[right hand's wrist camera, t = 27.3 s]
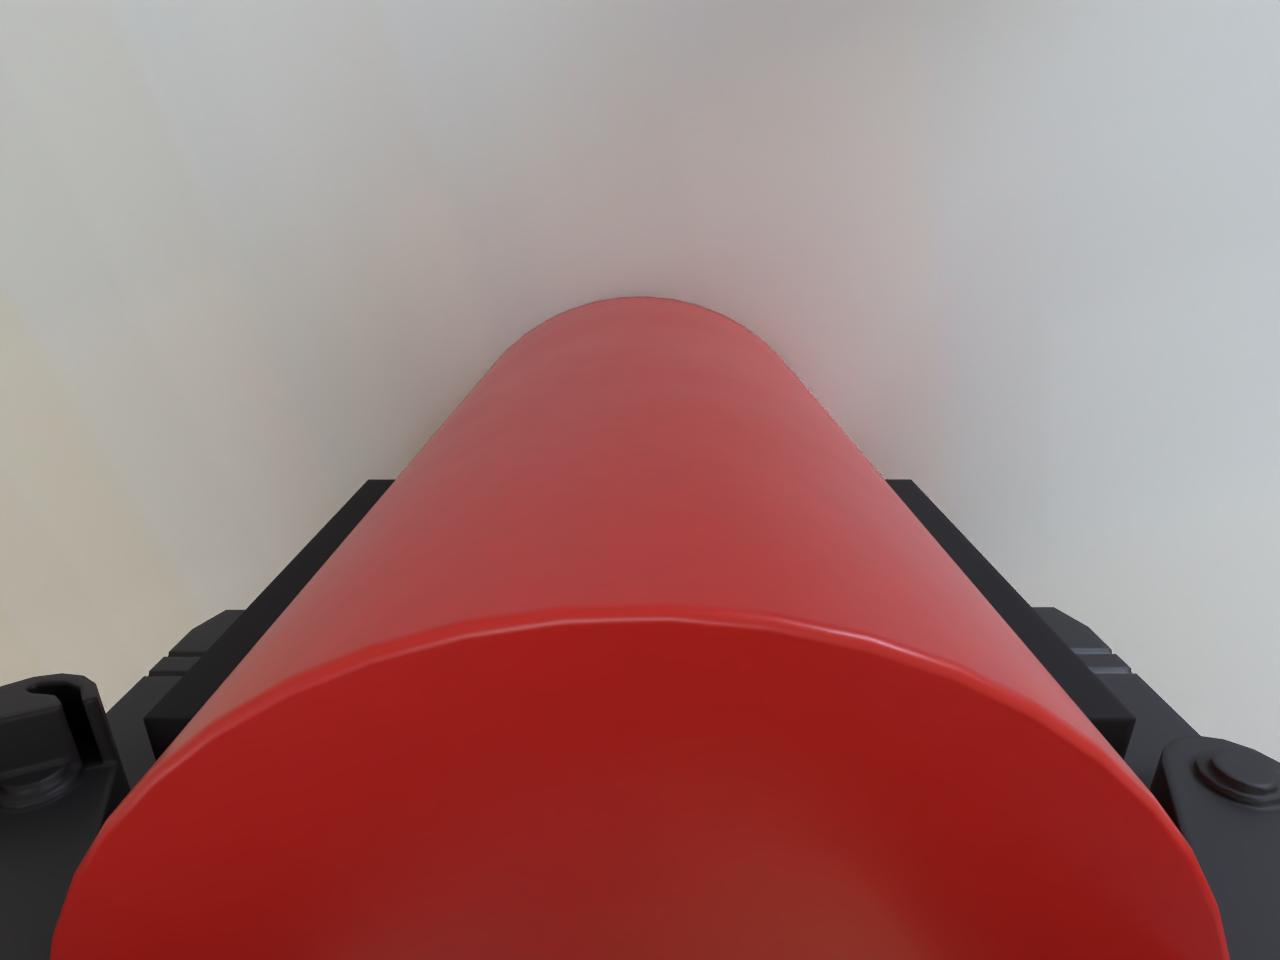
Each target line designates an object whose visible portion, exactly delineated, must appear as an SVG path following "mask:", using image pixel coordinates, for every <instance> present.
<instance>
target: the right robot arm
mask: <svg viewBox="0 0 1280 960" xmlns="http://www.w3.org/2000/svg"><path fill="white" fill-rule="evenodd" d="M394 481H395V480H368V481H367V482H366V483H365V484H364V485H363V486H362V487H361V488H360V489H359V490H358V491H357V492H356V493H355V494H354V496H353V497H352V498H351V499H350V500H349V501H348V502H347V503H346V504H345V505H344V506H343V507H342V508H341V509H340V510H339V511H338V513H337V514H336V515H335V516H334V517H333V518H332V519H331V520H330V521H329V522H328V523H327V524H326V525H325V526H324V527H323V528H322V529H321V531H320V532H319V533H318V534H317V535H316V536H315V537H314V538H313V539H312V540H311V541H310V542H309V543H308V544H307V545H306V546H305V547H304V549H303V550H302V551H301V552H300V553H299V554H298V555H297V556H296V557H295V558H294V559H293V560H292V561H291V562H290V563H289V564H288V565H287V567H286V568H285V569H284V570H283V571H282V572H281V573H280V574H279V575H278V576H277V577H276V578H275V579H274V580H273V581H272V582H271V583H270V585H269V586H268V587H267V588H266V589H265V590H264V591H263V592H262V593H261V594H260V595H259V596H258V597H257V598H256V599H255V600H254V602H253V603H252V604H251V605H250V606H249V607H248V608H247V609H246V610H225V611H223V612H222V613H220V614H218V615H216V616H215V617H213V618H211V619H209V620H208V621H206V622H204V623H202V624H201V625H199V626H197V627H195V628H194V629H192V630H191V631H190V632H189V633H188V634H187V635H186V636H185V637H184V638H183V639H182V640H181V641H180V642H179V643H178V644H177V645H176V646H175V647H174V648H173V649H172V650H171V651H170V652H169V656H168V657H163V658H162V659H161V660H160V661H159V662H158V663H157V664H156V665H155V666H154V667H153V668H152V669H151V670H150V671H149V676H144V677H143V678H142V679H141V680H140V681H139V682H138V683H137V684H136V685H135V686H134V687H133V688H132V689H131V690H130V691H129V692H128V693H127V694H126V695H124V696H123V697H122V698H121V699H120V700H119V701H118V702H117V703H116V704H115V705H114V706H113V707H112V708H111V709H110V710H109V711H108V712H107V713H105V710H104V707H103V704H102V701H101V698H100V695H99V692H98V689H97V686H96V684H95V683H94V682H92V681H91V680H89V679H88V678H86V677H85V676H81V675H72V674H63V673H61V674H54V675H46V676H38V677H32V678H29V679H25V680H22V681H18V682H15V683H11V684H8V685H4V686H1V687H0V960H50V954H51V945H52V937H53V934H54V931H55V927H56V925H57V922H58V919H59V916H60V913H61V910H62V907H63V904H64V902H65V899H66V896H67V893H68V890H69V887H70V884H71V881H72V879H73V876H74V873H75V871H76V870H77V868H78V866H79V865H80V863H81V861H82V860H83V858H84V856H85V855H86V853H87V851H88V850H89V848H90V846H91V845H92V843H93V841H94V840H95V838H96V836H97V834H98V833H99V831H100V829H101V828H102V826H103V824H104V823H105V821H106V819H107V818H108V817H109V816H110V815H111V814H112V812H113V811H114V810H115V809H116V808H117V806H118V805H119V804H120V803H121V802H122V801H123V799H124V798H125V797H126V796H127V795H128V794H129V792H130V791H131V790H132V789H133V788H134V787H135V785H136V784H137V783H138V782H139V781H140V779H141V778H142V777H143V776H144V775H145V774H146V772H147V771H148V770H149V769H150V768H151V767H152V765H153V764H154V763H155V762H156V761H157V760H158V758H159V757H160V756H161V755H162V754H163V752H164V751H165V750H166V749H167V748H168V747H169V745H170V744H171V743H172V742H173V741H174V740H175V738H176V737H177V736H178V735H179V734H180V733H181V731H182V730H183V729H184V728H185V727H186V725H187V724H188V723H189V722H190V721H191V720H192V718H193V717H194V716H195V715H196V714H197V713H198V711H199V710H200V709H201V708H202V707H203V706H204V704H205V703H206V702H207V701H208V700H209V698H210V697H211V696H212V695H213V694H214V693H215V691H216V690H217V689H218V688H219V687H220V686H221V684H222V683H223V682H224V681H225V680H226V679H227V677H228V676H229V675H230V674H231V673H232V671H233V670H234V669H235V668H236V667H237V666H238V664H239V663H240V662H241V661H242V660H243V659H244V657H245V656H246V655H247V654H248V653H249V652H250V650H251V649H252V648H253V647H254V646H255V644H256V643H257V642H258V641H259V640H260V639H261V637H262V636H263V635H264V634H265V633H266V632H267V630H268V629H269V628H270V627H271V626H272V625H273V623H274V622H275V621H276V620H277V619H278V617H279V616H280V615H281V614H282V613H283V612H284V610H285V609H286V608H287V607H288V606H289V605H290V603H291V602H292V601H293V600H294V599H295V598H296V596H297V595H298V594H299V593H300V592H301V590H302V589H303V588H304V587H305V586H306V585H307V583H308V582H309V581H310V580H311V579H312V578H313V576H314V575H315V574H316V573H317V572H318V571H319V569H320V568H321V567H322V566H323V565H324V563H325V562H326V561H327V560H328V559H329V558H330V556H331V555H332V554H333V553H334V552H335V551H336V549H337V548H338V547H339V546H340V545H341V544H342V542H343V541H344V540H345V539H346V538H347V536H348V535H349V534H350V533H351V532H352V531H353V529H354V528H355V527H356V526H357V525H358V524H359V522H360V521H361V520H362V519H363V518H364V516H365V515H366V514H367V513H368V512H369V511H370V509H371V508H372V507H373V506H374V505H375V504H376V502H377V501H378V500H379V499H380V498H381V497H382V495H383V494H384V493H385V492H386V491H387V489H388V488H389V487H390V486H391V485H392V484H393V482H394ZM885 481H886V482H887V483H888V484H889V486H890V487H891V488H892V489H893V490H894V492H895V493H896V494H897V495H898V496H899V497H900V499H901V500H902V501H903V502H904V503H905V504H906V506H907V507H908V508H909V509H910V510H911V511H912V513H913V514H914V515H915V516H916V517H917V519H918V520H919V521H920V522H921V523H922V524H923V526H924V527H925V528H926V529H927V530H928V531H929V533H930V534H931V535H932V536H933V537H934V538H935V540H936V541H937V542H938V543H939V544H940V545H941V547H942V548H943V549H944V550H945V551H946V553H947V554H948V555H949V556H950V557H951V558H952V560H953V561H954V562H955V563H956V564H957V565H958V567H959V568H960V569H961V570H962V571H963V572H964V574H965V575H966V576H967V577H968V578H969V579H970V581H971V582H972V583H973V584H974V585H975V587H976V588H977V589H978V590H979V591H980V592H981V594H982V595H983V596H984V597H985V598H986V599H987V601H988V602H989V603H990V604H991V605H992V606H993V608H994V609H995V610H996V611H997V612H998V613H999V615H1000V616H1001V617H1002V618H1003V619H1004V621H1005V622H1006V623H1007V624H1008V625H1009V626H1010V628H1011V629H1012V630H1013V631H1014V632H1015V633H1016V635H1017V636H1018V637H1019V638H1020V639H1021V640H1022V642H1023V643H1024V644H1025V645H1026V646H1027V648H1028V649H1029V650H1030V651H1031V652H1032V653H1033V655H1034V656H1035V657H1036V658H1037V659H1038V660H1039V662H1040V663H1041V664H1042V665H1043V666H1044V667H1045V669H1046V670H1047V671H1048V672H1049V673H1050V674H1051V676H1052V677H1053V678H1054V679H1055V680H1056V682H1057V683H1058V684H1059V685H1060V686H1061V687H1062V689H1063V690H1064V691H1065V692H1066V693H1067V694H1068V696H1069V697H1070V698H1071V699H1072V700H1073V701H1074V703H1075V704H1076V705H1077V706H1078V707H1079V708H1080V710H1081V711H1082V712H1083V713H1084V714H1085V716H1086V717H1087V718H1088V719H1089V720H1090V721H1091V723H1092V724H1093V725H1094V726H1095V727H1096V728H1097V730H1098V731H1099V732H1100V733H1101V734H1102V735H1103V737H1104V738H1105V739H1106V740H1107V741H1108V742H1109V744H1110V745H1111V746H1112V747H1113V748H1114V750H1115V751H1116V752H1117V753H1118V754H1119V755H1120V757H1121V758H1122V759H1123V760H1124V761H1125V762H1126V764H1127V765H1128V766H1129V767H1130V768H1131V769H1132V771H1133V772H1134V773H1135V774H1136V775H1137V777H1138V778H1139V779H1140V780H1141V781H1142V782H1143V784H1144V785H1145V786H1146V787H1147V788H1148V789H1149V791H1150V792H1151V793H1152V794H1153V795H1154V797H1155V798H1156V799H1157V801H1158V802H1159V803H1160V805H1161V806H1162V808H1163V809H1164V810H1165V812H1166V813H1167V815H1168V816H1169V817H1170V819H1171V820H1172V822H1173V823H1174V824H1175V826H1176V827H1177V828H1178V830H1179V831H1180V833H1181V834H1182V835H1183V837H1184V838H1185V840H1186V841H1187V842H1188V844H1189V845H1190V846H1191V848H1192V849H1193V852H1194V854H1195V856H1196V858H1197V860H1198V863H1199V865H1200V867H1201V869H1202V871H1203V873H1204V876H1205V878H1206V880H1207V882H1208V884H1209V887H1210V889H1211V891H1212V893H1213V895H1214V898H1215V900H1216V902H1217V905H1218V908H1219V911H1220V915H1221V920H1222V924H1223V929H1224V933H1225V938H1226V942H1227V947H1228V951H1229V956H1230V960H1280V763H1279V762H1277V761H1275V760H1273V759H1271V758H1269V757H1267V756H1265V755H1264V754H1262V753H1260V752H1258V751H1256V750H1254V749H1251V748H1248V747H1245V746H1242V745H1239V744H1236V743H1233V742H1230V741H1227V740H1224V739H1217V738H1210V737H1203V736H1200V735H1199V734H1198V733H1197V732H1196V731H1195V730H1194V729H1193V728H1192V727H1191V726H1190V725H1189V724H1188V723H1187V722H1186V721H1185V720H1184V719H1182V718H1181V717H1180V716H1179V715H1178V714H1177V713H1176V712H1175V711H1174V710H1173V709H1172V708H1171V707H1170V706H1169V705H1168V704H1167V703H1166V702H1165V701H1164V700H1163V699H1162V698H1161V697H1160V696H1159V695H1158V694H1157V693H1156V692H1155V691H1154V690H1153V689H1152V688H1151V687H1149V686H1148V685H1147V684H1146V683H1145V682H1144V681H1143V680H1142V679H1141V678H1140V677H1139V676H1138V675H1137V674H1132V673H1131V668H1130V667H1129V666H1128V665H1127V664H1126V663H1125V662H1124V661H1123V660H1122V659H1121V658H1120V657H1119V656H1118V655H1116V654H1112V652H1111V649H1110V648H1109V647H1108V646H1107V645H1106V644H1105V643H1104V642H1103V641H1102V640H1101V639H1100V638H1099V637H1098V636H1097V635H1096V634H1095V633H1094V632H1093V631H1092V630H1091V629H1090V628H1089V627H1087V626H1086V625H1084V624H1082V623H1080V622H1079V621H1077V620H1075V619H1073V618H1072V617H1070V616H1068V615H1066V614H1065V613H1063V612H1061V611H1059V610H1058V609H1056V608H1054V607H1031V606H1030V605H1029V604H1028V603H1027V602H1026V601H1025V600H1024V599H1023V598H1022V597H1021V596H1020V595H1019V594H1018V592H1017V591H1016V590H1015V589H1014V588H1013V587H1012V586H1011V585H1010V584H1009V583H1008V582H1007V581H1006V580H1005V579H1004V578H1003V577H1002V576H1001V574H1000V573H999V572H998V571H997V570H996V569H995V568H994V567H993V566H992V565H991V564H990V563H989V562H988V561H987V560H986V559H985V558H984V556H983V555H982V554H981V553H980V552H979V551H978V550H977V549H976V548H975V547H974V546H973V545H972V544H971V543H970V542H969V541H968V540H967V538H966V537H965V536H964V535H963V534H962V533H961V532H960V531H959V530H958V529H957V528H956V527H955V526H954V525H953V524H952V523H951V521H950V520H949V519H948V518H947V517H946V516H945V515H944V514H943V513H942V512H941V511H940V510H939V509H938V508H937V507H936V506H935V505H934V503H933V502H932V501H931V500H930V499H929V498H928V497H927V496H926V495H925V494H924V493H923V492H922V491H921V490H920V489H919V488H918V487H917V485H916V484H915V483H914V482H913V481H912V480H885Z"/></svg>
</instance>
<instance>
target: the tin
mask: <svg viewBox="0 0 1280 960" xmlns="http://www.w3.org/2000/svg"><path fill="white" fill-rule="evenodd" d="M50 960H1230V956H1229V951H1228V947H1227V942H1226V938H1225V933H1224V929H1223V924H1222V920H1221V915H1220V911H1219V908H1218V905H1217V902H1216V900H1215V898H1214V895H1213V893H1212V891H1211V889H1210V887H1209V884H1208V882H1207V880H1206V878H1205V876H1204V873H1203V871H1202V869H1201V867H1200V865H1199V863H1198V860H1197V858H1196V856H1195V854H1194V852H1193V849H1192V848H1191V846H1190V845H1189V844H1188V842H1187V841H1186V840H1185V838H1184V837H1183V835H1182V834H1181V833H1180V831H1179V830H1178V828H1177V827H1176V826H1175V824H1174V823H1173V822H1172V820H1171V819H1170V817H1169V816H1168V815H1167V813H1166V812H1165V810H1164V809H1163V808H1162V806H1161V805H1160V803H1159V802H1158V801H1157V799H1156V798H1155V797H1154V795H1153V794H1152V793H1151V792H1150V791H1149V789H1148V788H1147V787H1146V786H1145V785H1144V784H1143V782H1142V781H1141V780H1140V779H1139V778H1138V777H1137V775H1136V774H1135V773H1134V772H1133V771H1132V769H1131V768H1130V767H1129V766H1128V765H1127V764H1126V762H1125V761H1124V760H1123V759H1122V758H1121V757H1120V755H1119V754H1118V753H1117V752H1116V751H1115V750H1114V748H1113V747H1112V746H1111V745H1110V744H1109V742H1108V741H1107V740H1106V739H1105V738H1104V737H1103V735H1102V734H1101V733H1100V732H1099V731H1098V730H1097V728H1096V727H1095V726H1094V725H1093V724H1092V723H1091V721H1090V720H1089V719H1088V718H1087V717H1086V716H1085V714H1084V713H1083V712H1082V711H1081V710H1080V708H1079V707H1078V706H1077V705H1076V704H1075V703H1074V701H1073V700H1072V699H1071V698H1070V697H1069V696H1068V694H1067V693H1066V692H1065V691H1064V690H1063V689H1062V687H1061V686H1060V685H1059V684H1058V683H1057V682H1056V680H1055V679H1054V678H1053V677H1052V676H1051V674H1050V673H1049V672H1048V671H1047V670H1046V669H1045V667H1044V666H1043V665H1042V664H1041V663H1040V662H1039V660H1038V659H1037V658H1036V657H1035V656H1034V655H1033V653H1032V652H1031V651H1030V650H1029V649H1028V648H1027V646H1026V645H1025V644H1024V643H1023V642H1022V640H1021V639H1020V638H1019V637H1018V636H1017V635H1016V633H1015V632H1014V631H1013V630H1012V629H1011V628H1010V626H1009V625H1008V624H1007V623H1006V622H1005V621H1004V619H1003V618H1002V617H1001V616H1000V615H999V613H998V612H997V611H996V610H995V609H994V608H993V606H992V605H991V604H990V603H989V602H988V601H987V599H986V598H985V597H984V596H983V595H982V594H981V592H980V591H979V590H978V589H977V588H976V587H975V585H974V584H973V583H972V582H971V581H970V579H969V578H968V577H967V576H966V575H965V574H964V572H963V571H962V570H961V569H960V568H959V567H958V565H957V564H956V563H955V562H954V561H953V560H952V558H951V557H950V556H949V555H948V554H947V553H946V551H945V550H944V549H943V548H942V547H941V545H940V544H939V543H938V542H937V541H936V540H935V538H934V537H933V536H932V535H931V534H930V533H929V531H928V530H927V529H926V528H925V527H924V526H923V524H922V523H921V522H920V521H919V520H918V519H917V517H916V516H915V515H914V514H913V513H912V511H911V510H910V509H909V508H908V507H907V506H906V504H905V503H904V502H903V501H902V500H901V499H900V497H899V496H898V495H897V494H896V493H895V492H894V490H893V489H892V488H891V487H890V486H889V484H888V483H887V482H886V481H885V480H884V479H883V477H882V476H881V475H880V474H879V473H878V472H877V470H876V469H875V468H874V467H873V466H872V465H871V463H870V462H869V461H868V460H867V459H866V458H865V456H864V455H863V454H862V453H861V452H860V450H859V449H858V448H857V447H856V446H855V445H854V443H853V442H852V441H851V440H850V439H849V438H848V436H847V435H846V434H845V433H844V432H843V431H842V429H841V428H840V427H839V426H838V425H837V424H836V422H835V421H834V420H833V419H832V418H831V416H830V415H829V414H828V413H827V412H826V411H825V409H824V408H823V407H822V406H821V405H820V404H819V402H818V401H817V400H816V399H815V398H814V397H813V395H812V394H811V393H810V392H809V391H808V390H807V388H806V387H805V386H804V385H803V384H802V382H801V381H800V380H799V379H798V378H797V377H796V375H795V374H794V373H793V372H792V371H791V370H790V368H789V367H788V366H787V365H786V364H785V363H784V361H783V360H782V359H781V358H780V357H779V356H778V355H777V354H776V353H775V352H774V351H773V350H772V349H771V348H770V347H769V346H768V345H767V344H766V343H765V342H763V341H762V340H761V339H760V338H758V337H757V336H756V335H754V334H753V333H752V332H750V331H749V330H748V329H746V328H745V327H743V326H741V325H740V324H738V323H736V322H734V321H732V320H731V319H729V318H727V317H725V316H723V315H721V314H719V313H716V312H714V311H711V310H708V309H706V308H703V307H701V306H698V305H694V304H690V303H686V302H682V301H677V300H673V299H664V298H654V297H623V298H615V299H609V300H603V301H597V302H593V303H590V304H586V305H583V306H580V307H577V308H573V309H570V310H568V311H566V312H564V313H562V314H559V315H557V316H555V317H553V318H551V319H549V320H547V321H545V322H543V323H542V324H540V325H539V326H537V327H536V328H534V329H533V330H531V331H529V332H528V333H526V334H525V335H524V336H523V337H521V338H520V339H519V340H518V341H517V342H516V343H514V344H513V345H512V346H511V347H510V348H509V349H507V350H506V352H505V353H504V354H503V355H502V356H501V357H500V358H499V359H498V361H497V362H496V363H495V364H494V365H493V366H492V367H491V369H490V370H489V371H488V372H487V373H486V374H485V376H484V377H483V378H482V379H481V380H480V381H479V383H478V384H477V385H476V386H475V387H474V389H473V390H472V391H471V392H470V393H469V394H468V396H467V397H466V398H465V399H464V400H463V401H462V403H461V404H460V405H459V406H458V407H457V408H456V410H455V411H454V412H453V413H452V414H451V416H450V417H449V418H448V419H447V420H446V421H445V423H444V424H443V425H442V426H441V427H440V428H439V430H438V431H437V432H436V433H435V434H434V435H433V437H432V438H431V439H430V440H429V441H428V443H427V444H426V445H425V446H424V447H423V448H422V450H421V451H420V452H419V453H418V454H417V455H416V457H415V458H414V459H413V460H412V461H411V462H410V464H409V465H408V466H407V467H406V468H405V470H404V471H403V472H402V473H401V474H400V475H399V477H398V478H397V479H396V480H395V481H394V482H393V484H392V485H391V486H390V487H389V488H388V489H387V491H386V492H385V493H384V494H383V495H382V497H381V498H380V499H379V500H378V501H377V502H376V504H375V505H374V506H373V507H372V508H371V509H370V511H369V512H368V513H367V514H366V515H365V516H364V518H363V519H362V520H361V521H360V522H359V524H358V525H357V526H356V527H355V528H354V529H353V531H352V532H351V533H350V534H349V535H348V536H347V538H346V539H345V540H344V541H343V542H342V544H341V545H340V546H339V547H338V548H337V549H336V551H335V552H334V553H333V554H332V555H331V556H330V558H329V559H328V560H327V561H326V562H325V563H324V565H323V566H322V567H321V568H320V569H319V571H318V572H317V573H316V574H315V575H314V576H313V578H312V579H311V580H310V581H309V582H308V583H307V585H306V586H305V587H304V588H303V589H302V590H301V592H300V593H299V594H298V595H297V596H296V598H295V599H294V600H293V601H292V602H291V603H290V605H289V606H288V607H287V608H286V609H285V610H284V612H283V613H282V614H281V615H280V616H279V617H278V619H277V620H276V621H275V622H274V623H273V625H272V626H271V627H270V628H269V629H268V630H267V632H266V633H265V634H264V635H263V636H262V637H261V639H260V640H259V641H258V642H257V643H256V644H255V646H254V647H253V648H252V649H251V650H250V652H249V653H248V654H247V655H246V656H245V657H244V659H243V660H242V661H241V662H240V663H239V664H238V666H237V667H236V668H235V669H234V670H233V671H232V673H231V674H230V675H229V676H228V677H227V679H226V680H225V681H224V682H223V683H222V684H221V686H220V687H219V688H218V689H217V690H216V691H215V693H214V694H213V695H212V696H211V697H210V698H209V700H208V701H207V702H206V703H205V704H204V706H203V707H202V708H201V709H200V710H199V711H198V713H197V714H196V715H195V716H194V717H193V718H192V720H191V721H190V722H189V723H188V724H187V725H186V727H185V728H184V729H183V730H182V731H181V733H180V734H179V735H178V736H177V737H176V738H175V740H174V741H173V742H172V743H171V744H170V745H169V747H168V748H167V749H166V750H165V751H164V752H163V754H162V755H161V756H160V757H159V758H158V760H157V761H156V762H155V763H154V764H153V765H152V767H151V768H150V769H149V770H148V771H147V772H146V774H145V775H144V776H143V777H142V778H141V779H140V781H139V782H138V783H137V784H136V785H135V787H134V788H133V789H132V790H131V791H130V792H129V794H128V795H127V796H126V797H125V798H124V799H123V801H122V802H121V803H120V804H119V805H118V806H117V808H116V809H115V810H114V811H113V812H112V814H111V815H110V816H109V817H108V818H107V819H106V821H105V823H104V824H103V826H102V828H101V829H100V831H99V833H98V834H97V836H96V838H95V840H94V841H93V843H92V845H91V846H90V848H89V850H88V851H87V853H86V855H85V856H84V858H83V860H82V861H81V863H80V865H79V866H78V868H77V870H76V871H75V873H74V876H73V879H72V881H71V884H70V887H69V890H68V893H67V896H66V899H65V902H64V904H63V907H62V910H61V913H60V916H59V919H58V922H57V925H56V927H55V931H54V934H53V937H52V945H51V954H50Z"/></svg>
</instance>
